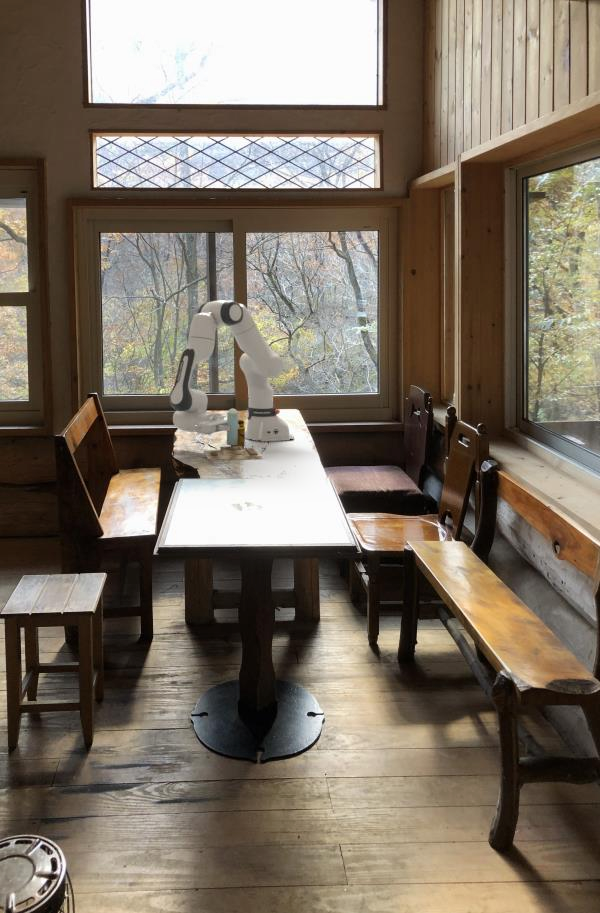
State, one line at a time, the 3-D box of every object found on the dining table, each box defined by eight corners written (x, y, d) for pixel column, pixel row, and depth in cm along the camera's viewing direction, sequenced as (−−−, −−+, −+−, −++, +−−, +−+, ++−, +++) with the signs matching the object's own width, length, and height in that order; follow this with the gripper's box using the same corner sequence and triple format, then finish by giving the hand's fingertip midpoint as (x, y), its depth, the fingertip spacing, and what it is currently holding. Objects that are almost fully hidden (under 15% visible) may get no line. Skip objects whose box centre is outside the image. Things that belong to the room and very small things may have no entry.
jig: (255, 452, 385) (255, 445, 385) (261, 458, 373) (261, 451, 372) (203, 453, 380) (203, 446, 380) (208, 459, 368) (208, 452, 367)
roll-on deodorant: (236, 443, 378) (237, 407, 375) (238, 445, 374) (239, 409, 371) (225, 443, 377) (226, 407, 374) (227, 445, 373) (228, 409, 370)
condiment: (248, 449, 392) (248, 421, 390) (231, 450, 388) (231, 422, 385) (239, 445, 398) (240, 418, 396) (222, 447, 393) (223, 420, 391)
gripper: (191, 419, 371) (219, 423, 364) (221, 413, 388) (248, 417, 381) (191, 434, 373) (218, 438, 366) (221, 428, 390) (248, 432, 383)
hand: (234, 427), depth 374 cm, fingers closed on roll-on deodorant, 4 cm apart
